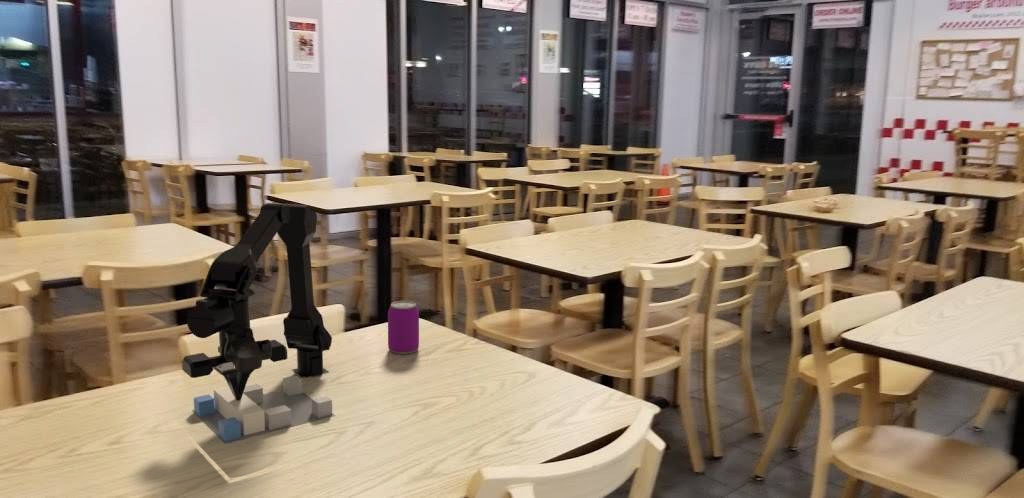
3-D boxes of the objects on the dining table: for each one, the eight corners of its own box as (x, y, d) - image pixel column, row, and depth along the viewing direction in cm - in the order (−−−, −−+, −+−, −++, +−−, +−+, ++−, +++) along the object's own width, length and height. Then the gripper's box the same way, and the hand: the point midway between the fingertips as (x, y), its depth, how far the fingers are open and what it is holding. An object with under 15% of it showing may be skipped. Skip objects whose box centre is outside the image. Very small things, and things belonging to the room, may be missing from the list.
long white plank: (214, 408, 165) (213, 389, 165) (234, 403, 168) (233, 385, 167) (244, 435, 153) (243, 415, 152) (264, 430, 156) (264, 410, 155)
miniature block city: (191, 413, 164) (190, 396, 163) (295, 389, 178) (294, 373, 177) (225, 446, 150) (224, 428, 149) (335, 418, 163) (335, 401, 162)
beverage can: (421, 346, 209) (421, 300, 206) (415, 356, 201) (415, 308, 199) (392, 344, 209) (391, 299, 207) (384, 354, 202) (384, 307, 199)
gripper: (198, 342, 145) (203, 425, 148) (298, 324, 156) (300, 401, 159) (178, 327, 153) (183, 405, 156) (274, 311, 165) (277, 385, 168)
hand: (238, 399), depth 160 cm, fingers closed, pressing on long white plank
